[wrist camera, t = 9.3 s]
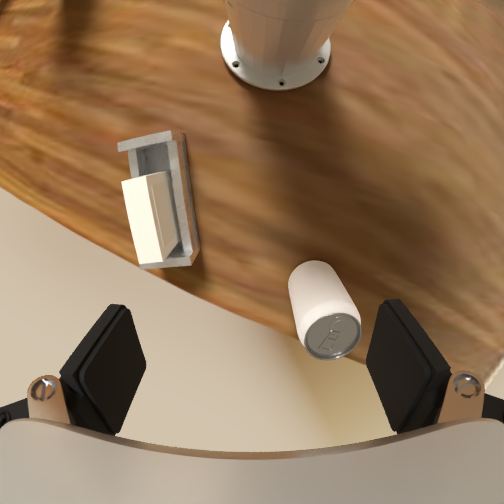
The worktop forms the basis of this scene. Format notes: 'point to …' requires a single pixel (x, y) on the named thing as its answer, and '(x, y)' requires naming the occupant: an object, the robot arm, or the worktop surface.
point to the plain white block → (152, 215)
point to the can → (323, 311)
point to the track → (175, 159)
